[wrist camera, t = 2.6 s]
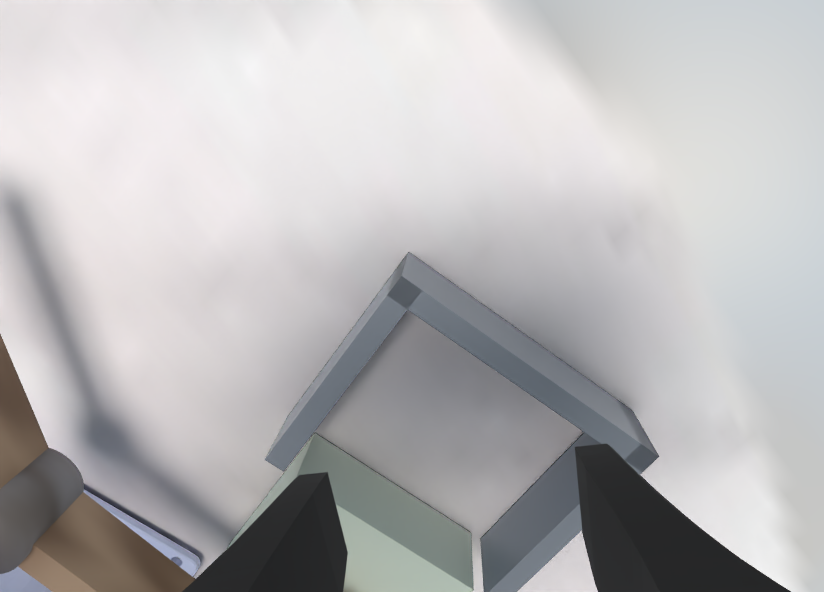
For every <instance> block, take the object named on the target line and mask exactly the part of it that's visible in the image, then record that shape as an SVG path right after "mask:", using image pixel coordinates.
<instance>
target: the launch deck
mask: <svg viewBox="0 0 824 592" xmlns="http://www.w3.org/2000/svg"><path fill="white" fill-rule="evenodd" d="M323 472H328V476H329V480H330V484H331V488H332V492H333V495H334V499H335V503H336V507H337V511H338V515H339V519H340V523H341V527H342V531H343V535H344V539H345V543H346V547H347V551H348V556H347V565H346V573H345V582H344V589H343V592H472V591H473V590H474V589H473V565H472V540H471V533H470V532H469V531H467V530H466V529H464V528H463V527H461V526H460V525H458V524H456V523H455V522H453V521H452V520H450V519H449V518H447V517H445V516H444V515H442V514H441V513H439V512H438V511H436V510H435V509H433V508H431V507H430V506H428V505H427V504H425V503H424V502H422V501H420V500H419V499H417V498H416V497H414V496H413V495H411V494H410V493H408V492H406V491H405V490H403V489H402V488H400V487H399V486H397V485H395V484H394V483H392V482H391V481H389V480H388V479H386V478H384V477H383V476H381V475H380V474H378V473H377V472H375V471H374V470H372V469H370V468H369V467H367V466H366V465H364V464H363V463H361V462H359V461H358V460H356V459H355V458H353V457H352V456H350V455H349V454H347V453H345V452H344V451H342V450H341V449H339V448H338V447H336V446H334V445H333V444H331V443H330V442H328V441H327V440H325V439H324V438H322V437H320V436H319V435H317V434H316V433H314V435H313V436H312V437H311V439H310V440H309V441H308V442H307V444H306V445H305V446H304V448H303V449H302V450H301V452H300V453H299V454H298V456H297V457H296V458H295V459H294V461H293V462H292V463H291V465H290V466H289V467H288V469H287V470H286V471H285V472H284V474H283V475H282V476H281V478H280V479H279V480H278V482H277V483H276V484H275V485H274V487H273V488H272V489H271V491H270V492H269V493H268V495H267V496H266V497H265V499H264V500H263V501H262V502H261V504H260V505H259V506H258V508H257V509H256V510H255V512H254V513H253V514H252V515H251V517H250V518H249V519H248V521H247V522H246V523H245V525H244V526H243V527H242V528H241V530H240V531H239V532H238V534H237V535H236V536H235V538H234V539H233V540H232V542H231V543H230V544H229V546H228V548H229V547H230V546H231V545H232V544H233V543H234V542H235V541H236V540H237V539H238V538H239V537H240V536H241V535H242V534H243V533H244V532H245V531H246V530H247V529H248V528H249V526H250V525H251V524H252V523H253V522H254V521H255V520H256V519H257V518H258V517H259V516H260V515H261V514H262V513H263V512H264V511H265V510H266V509H267V508H268V507H269V506H270V504H271V503H272V502H273V501H274V500H275V499H276V498H277V497H278V496H279V495H280V494H281V493H282V492H283V491H284V490H285V489H286V487H287V486H288V485H289V484H290V483H291V482H292V481H293V480H294V479H295V478H296V477H297V476H299V475H304V474H313V473H323ZM228 548H227V549H228Z"/></svg>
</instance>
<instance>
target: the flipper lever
mask: <svg viewBox="0 0 824 592" xmlns="http://www.w3.org/2000/svg"><path fill="white" fill-rule="evenodd" d="M83 491H84V483H83V479H82V476H81V474H80V472H79V470H78V468H77V467H76V466H75V464H74V463H73V462H72V461H71V460H70V459H69V458H67V457H66V456H65V455H63V454H62V453H60V452H58V451H56V450H53V449H51V448H48V445H47V443H46V441H45V438H44V436H43V433H42V431H41V429H40V426H39V424H38V422H37V419H36V417H35V415H34V412H33V410H32V408H31V405H30V403H29V400H28V398H27V396H26V393H25V391H24V389H23V386H22V384H21V382H20V379H19V377H18V375H17V372H16V370H15V367H14V365H13V363H12V360H11V358H10V356H9V353H8V351H7V349H6V346H5V344H4V342H3V339H2V337H1V334H0V574H4V573H7V572H10V571H12V570H14V569H15V568H16V567H19V568H21V569H22V570H23V571H25V572H26V573H27V574H29V575H30V576H31V577H33V578H34V579H36V580H37V581H38V582H40V583H41V584H42V585H44V586H45V587H47V588H48V589H49V590H51V591H52V592H182V591H183V590H184V589H185V588H187V587H188V586H189V585H190V584H191V583H192V582H193V581H194V580H195V578H193V577H192V576H191V575H190V574H188V573H187V572H186V571H184V570H183V569H182V568H181V567H179V566H178V565H177V564H175V563H174V562H173V561H172V560H170V559H169V558H168V557H166V556H165V555H164V554H163V553H161V552H160V551H159V550H157V549H156V548H155V547H154V546H152V545H151V544H150V543H148V542H147V541H146V540H145V539H143V538H142V537H141V536H139V535H138V534H137V533H136V532H134V531H133V530H132V529H130V528H129V527H128V526H127V525H125V524H124V523H123V522H121V521H120V520H119V519H118V518H116V517H115V516H114V515H112V514H111V513H110V512H109V511H107V510H106V509H105V508H103V507H102V506H101V505H100V504H98V503H97V502H96V501H94V500H93V499H92V498H90V497H89V496H88V495H87V494H85V493H84V492H83Z"/></svg>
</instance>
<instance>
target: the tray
mask: <svg viewBox="0 0 824 592" xmlns="http://www.w3.org/2000/svg"><path fill="white" fill-rule="evenodd" d="M407 310H409V311H410V312H412V313H413V314H415V315H416V316H418V317H419V318H420V319H422V320H423V321H425V322H426V323H428V324H429V325H431V326H432V327H433V328H435V329H436V330H438V331H439V332H441V333H442V334H444V335H445V336H446V337H448V338H449V339H451V340H452V341H454V342H455V343H457V344H458V345H459V346H461V347H462V348H464V349H465V350H467V351H468V352H470V353H471V354H472V355H474V356H475V357H477V358H478V359H480V360H481V361H483V362H484V363H485V364H487V365H488V366H490V367H491V368H493V369H494V370H496V371H497V372H498V373H500V374H501V375H503V376H504V377H506V378H507V379H509V380H510V381H511V382H513V383H514V384H516V385H517V386H519V387H520V388H521V389H523V390H524V391H526V392H527V393H529V394H530V395H532V396H533V397H534V398H536V399H537V400H539V401H540V402H542V403H543V404H545V405H546V406H547V407H549V408H550V409H552V410H553V411H555V412H556V413H558V414H559V415H560V416H562V417H563V418H565V419H566V420H568V421H569V422H571V423H572V424H573V425H575V426H576V427H578V428H579V429H581V430H582V431H584V433H583V434H582V435H581V436H580V437H579V438H578V439H577V441H576V442H575V443H574V444H573V445H572V446H571V447H570V448H569V449H568V450H567V451H566V452H565V453H564V454H563V455H562V456H561V457H560V458H559V459H558V460H557V461H556V462H555V463H554V464H553V465H552V466H551V467H550V468H549V469H548V470H547V471H546V472H545V473H544V474H543V475H542V476H541V477H540V478H539V479H538V481H537V482H536V483H535V484H534V485H533V486H532V487H531V488H530V489H529V490H528V491H527V492H526V493H525V494H524V495H523V496H522V497H521V498H520V499H519V500H518V501H517V502H516V503H515V504H514V505H513V506H512V507H511V508H510V509H509V510H508V511H507V512H506V513H505V514H504V515H503V516H502V517H501V518H500V519H499V520H498V522H497V523H496V524H495V525H494V526H493V527H492V528H491V529H490V530H489V531H488V532H487V533H486V534H485V535H484V536H483V537H482V538H481V555H482V571H483V587H484V592H517V591H518V590H519V589H520V588H521V587H522V586H523V585H524V584H525V583H527V582H528V581H529V580H530V579H531V578H532V577H533V576H534V575H535V574H536V573H537V572H538V571H539V570H540V569H541V568H542V567H543V566H544V565H545V564H547V563H548V562H549V561H550V560H551V559H552V558H553V557H554V556H555V555H556V554H557V553H558V552H559V551H560V550H561V549H562V548H563V547H564V546H565V545H567V544H568V543H569V542H570V541H571V540H572V539H573V538H574V537H575V536H576V535H577V534H578V533H579V532H580V531H581V530H582V522H581V511H580V500H579V489H578V478H577V467H576V456H575V447H577V446H587V445H597V444H608V445H610V446H611V447H612V448H613V449H614V450H615V451H616V452H617V453H618V454H619V455H620V456H621V457H622V458H623V459H624V460H625V461H626V462H627V463H628V464H629V465H630V466H631V467H632V468H633V469H634V470H635V471H636V472H637V473H638V474H639V475H640V474H641V473H642V472H643V471H644V470H645V469H647V468H648V467H649V466H650V465H651V464H652V463H653V462H654V461H655V460H656V459H657V458H658V457H659V455H658V453H657V452H656V450H655V448H654V447H653V445H652V443H651V441H650V440H649V438H648V436H647V435H646V433H645V431H644V429H643V428H642V426H641V424H640V423H639V421H638V419H637V418H636V416H635V414H634V412H633V411H632V410H631V409H629V408H628V407H627V406H625V405H624V404H622V403H621V402H620V401H618V400H617V399H615V398H614V397H613V396H611V395H610V394H608V393H607V392H606V391H604V390H603V389H601V388H600V387H598V386H597V385H596V384H594V383H593V382H591V381H590V380H589V379H587V378H586V377H584V376H583V375H582V374H580V373H579V372H577V371H576V370H574V369H573V368H572V367H570V366H569V365H567V364H566V363H565V362H563V361H562V360H560V359H559V358H558V357H556V356H555V355H553V354H552V353H551V352H549V351H548V350H546V349H545V348H543V347H542V346H541V345H539V344H538V343H536V342H535V341H534V340H532V339H531V338H529V337H528V336H527V335H525V334H524V333H522V332H521V331H520V330H518V329H517V328H515V327H514V326H512V325H511V324H510V323H508V322H507V321H505V320H504V319H503V318H501V317H500V316H498V315H497V314H496V313H494V312H493V311H491V310H490V309H488V308H487V307H486V306H484V305H483V304H481V303H480V302H479V301H477V300H476V299H474V298H473V297H472V296H470V295H469V294H467V293H466V292H465V291H463V290H462V289H460V288H459V287H457V286H456V285H455V284H453V283H452V282H450V281H449V280H448V279H446V278H445V277H443V276H442V275H441V274H439V273H438V272H436V271H435V270H434V269H432V268H431V267H429V266H428V265H426V264H425V263H424V262H422V261H421V260H419V259H418V258H417V257H415V256H414V255H412V254H411V253H410V252H408V254H407V255H406V256H405V258H404V259H403V260H402V262H401V263H400V265H399V266H398V267H397V269H396V270H395V271H394V273H393V274H392V275H391V277H390V278H389V279H388V281H387V282H386V284H385V285H384V286H383V288H382V289H381V290H380V292H379V293H378V294H377V296H376V297H375V298H374V300H373V301H372V303H371V304H370V305H369V307H368V308H367V309H366V311H365V312H364V313H363V315H362V316H361V317H360V319H359V320H358V322H357V323H356V324H355V326H354V327H353V328H352V330H351V331H350V332H349V334H348V335H347V336H346V338H345V339H344V341H343V342H342V343H341V345H340V346H339V347H338V349H337V350H336V351H335V353H334V354H333V355H332V357H331V358H330V360H329V361H328V362H327V364H326V365H325V366H324V368H323V369H322V370H321V372H320V373H319V374H318V376H317V377H316V379H315V380H314V381H313V383H312V384H311V385H310V387H309V388H308V389H307V391H306V392H305V393H304V395H303V396H302V398H301V399H300V400H299V402H298V403H297V404H296V406H295V407H294V408H293V410H292V411H291V412H290V414H289V415H288V417H287V419H286V421H285V422H284V424H283V426H282V428H281V430H280V432H279V434H278V436H277V438H276V439H275V441H274V443H273V445H272V447H271V449H270V451H269V453H268V454H267V456H266V458H265V460H266V461H268V462H269V463H271V464H272V465H274V466H276V467H277V468H279V469H280V470H282V471H284V470H285V469H286V468H287V467H288V465H289V464H290V463H291V461H292V460H293V459H294V457H295V456H296V455H297V454H298V452H299V451H300V450H301V448H302V447H303V446H304V444H305V443H306V442H307V440H308V439H309V438H310V437H311V435H312V434H313V433H314V431H315V430H316V429H317V427H318V426H319V425H320V423H321V422H322V421H323V420H324V418H325V417H326V416H327V414H328V413H329V412H330V410H331V409H332V408H333V407H334V405H335V404H336V403H337V401H338V400H339V399H340V397H341V396H342V395H343V393H344V392H345V391H346V390H347V388H348V387H349V386H350V384H351V383H352V382H353V380H354V379H355V378H356V377H357V375H358V374H359V373H360V371H361V370H362V369H363V367H364V366H365V365H366V363H367V362H368V361H369V360H370V358H371V357H372V356H373V354H374V353H375V352H376V350H377V349H378V348H379V346H380V345H381V344H382V343H383V341H384V340H385V339H386V337H387V336H388V335H389V333H390V332H391V331H392V330H393V328H394V327H395V326H396V324H397V323H398V322H399V320H400V319H401V318H402V316H403V315H404V314H405V313H406V311H407Z"/></svg>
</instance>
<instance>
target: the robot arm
mask: <svg viewBox="0 0 824 592" xmlns="http://www.w3.org/2000/svg"><path fill="white" fill-rule="evenodd" d="M575 456H576V467H577V478H578V489H579V500H580V511H581V522H582V533H583V537H584V541H585V545H586V549H587V553H588V557H589V561H590V565H591V569H592V573H593V577H594V581H595V584H596V587H597V590H598V592H791V591H789V590H787V589H786V588H784V587H783V586H781V585H779V584H778V583H776V582H775V581H773V580H772V579H770V578H769V577H767V576H766V575H764V574H763V573H761V572H760V571H758V570H757V569H755V568H754V567H752V566H751V565H749V564H748V563H746V562H745V561H743V560H742V559H740V558H739V557H738V556H736V555H735V554H733V553H732V552H731V551H729V550H728V549H727V548H725V547H724V546H723V545H721V544H720V543H719V542H718V541H716V540H715V539H714V538H712V537H711V536H710V535H709V534H707V533H706V532H705V531H703V530H702V529H701V528H700V527H698V526H697V525H696V524H695V523H694V522H692V521H691V520H690V519H689V518H687V517H686V516H685V515H684V514H683V513H682V512H680V511H679V510H678V509H677V508H676V507H675V506H674V505H672V504H671V503H670V502H669V501H668V500H667V499H665V498H664V497H663V496H662V495H661V494H660V493H659V492H658V491H656V490H655V489H654V488H653V487H652V486H651V485H650V484H649V483H648V482H647V481H646V480H645V479H644V478H643V477H642V476H640V475H639V474H638V473H637V472H636V471H635V470H634V469H633V468H632V467H631V466H630V465H629V464H628V463H627V462H626V461H625V460H624V459H623V458H622V457H621V456H620V455H619V454H618V453H617V452H616V451H615V450H614V449H613V448H612V447H611V446H610V445H608V444H597V445H587V446H577V447H575ZM83 492H84V493H85V494H87V495H88V496H89V497H90V498H92V499H93V500H94V501H96V502H97V503H98V504H100V505H101V506H102V507H103V508H105V509H106V510H107V511H109V512H110V513H111V514H112V515H114V516H115V517H116V518H118V519H119V520H120V521H121V522H123V523H124V524H125V525H127V526H128V527H129V528H130V529H132V530H133V531H134V532H136V533H137V534H138V535H139V536H141V537H142V538H143V539H145V540H146V541H147V542H148V543H150V544H151V545H152V546H154V547H155V548H156V549H157V550H159V551H160V552H161V553H163V554H164V555H165V556H166V557H168V558H169V559H170V560H172V561H173V562H174V563H175V564H177V565H178V566H179V567H181V568H182V569H183V570H184V571H186V572H187V573H188V574H190V575H191V576H192V577H193V576H194V575H195V573H196V572H197V570H198V568H199V566H200V559H199V558H198V556H196V555H195V554H194V553H192V552H190V551H188V550H187V549H185V548H183V547H182V546H180V545H178V544H176V543H175V542H173V541H171V540H170V539H168V538H166V537H164V536H163V535H161V534H159V533H158V532H156V531H154V530H153V529H151V528H149V527H147V526H146V525H144V524H142V523H141V522H139V521H137V520H135V519H134V518H132V517H130V516H129V515H127V514H125V513H124V512H122V511H120V510H118V509H117V508H115V507H113V506H112V505H110V504H108V503H106V502H105V501H103V500H101V499H100V498H98V497H96V496H95V495H93V494H91V493H89V492H88V491H86V490H84V491H83ZM347 556H348V551H347V547H346V543H345V539H344V535H343V531H342V527H341V523H340V519H339V515H338V511H337V507H336V503H335V499H334V495H333V492H332V488H331V484H330V480H329V476H328V472H323V473H313V474H304V475H299V476H297V477H296V478H295V479H294V480H293V481H292V482H291V483H290V484H289V485H288V486H287V487H286V489H285V490H284V491H283V492H282V493H281V494H280V495H279V496H278V497H277V498H276V499H275V500H274V501H273V502H272V503H271V504H270V506H269V507H268V508H267V509H266V510H265V511H264V512H263V513H262V514H261V515H260V516H259V517H258V518H257V519H256V520H255V521H254V522H253V523H252V524H251V525H250V526H249V528H248V529H247V530H246V531H245V532H244V533H243V534H242V535H241V536H240V537H239V538H238V539H237V540H236V541H235V542H234V543H233V544H232V545H231V546H230V547H229V548H228V549H227V550H226V551H225V552H224V553H223V554H222V555H221V556H219V557H218V558H217V559H216V560H215V561H214V562H213V563H212V564H211V565H210V566H209V567H208V568H207V569H206V570H205V571H204V572H203V573H202V574H201V575H200V576H199V577H197V578H196V579H195V580H194V581H193V582H192V583H191V584H190V585H189V586H188V587H187V588H185V589H184V590H183V591H182V592H343V589H344V582H345V573H346V565H347ZM177 557H178V558H180V559H178V558H177ZM0 592H52V591H51V590H49V589H48V588H47V587H45V586H44V585H42V584H41V583H40V582H38V581H37V580H36V579H34V578H33V577H31V576H30V575H29V574H27V573H26V572H25V571H23V570H22V569H21V568H19V567H16V568H15V569H14V570H12V571H10V572H7V573H4V574H0Z"/></svg>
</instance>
